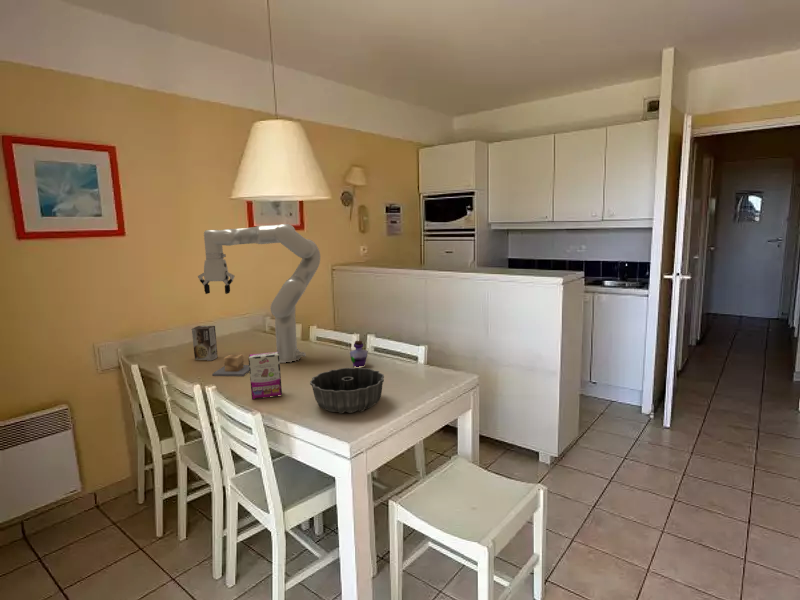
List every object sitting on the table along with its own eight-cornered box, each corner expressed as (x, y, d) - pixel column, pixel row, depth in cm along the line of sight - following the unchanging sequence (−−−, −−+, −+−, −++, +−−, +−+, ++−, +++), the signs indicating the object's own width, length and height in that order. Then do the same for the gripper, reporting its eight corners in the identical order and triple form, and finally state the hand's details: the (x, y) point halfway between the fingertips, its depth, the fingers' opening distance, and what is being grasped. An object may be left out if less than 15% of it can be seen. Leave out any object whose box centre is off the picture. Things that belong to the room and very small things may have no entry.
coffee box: (218, 357, 234) (215, 325, 231) (212, 360, 227) (209, 328, 225) (200, 357, 235) (198, 325, 232) (194, 360, 228) (191, 328, 226)
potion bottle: (346, 368, 212) (345, 342, 210) (355, 362, 220) (355, 337, 218) (362, 370, 208) (362, 344, 206) (372, 364, 216) (371, 339, 214)
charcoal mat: (255, 367, 216) (255, 365, 216) (243, 376, 203) (243, 374, 203) (226, 366, 217) (225, 364, 217) (212, 375, 205) (212, 373, 204)
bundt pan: (295, 409, 166) (294, 382, 164) (344, 387, 188) (343, 363, 186) (353, 425, 151) (352, 396, 150) (399, 399, 173) (398, 373, 171)
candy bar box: (281, 392, 183) (279, 351, 181) (282, 396, 178) (279, 354, 176) (251, 395, 180) (248, 353, 178) (251, 399, 176) (248, 357, 173)
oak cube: (243, 367, 213) (242, 354, 212) (238, 371, 207) (237, 358, 206) (231, 367, 213) (230, 354, 212) (224, 371, 207) (223, 358, 206)
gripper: (236, 256, 220) (238, 292, 223) (200, 256, 221) (203, 292, 224) (228, 257, 213) (231, 294, 215) (192, 257, 214) (195, 294, 217)
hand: (217, 293), depth 220 cm, fingers open, 9 cm apart
